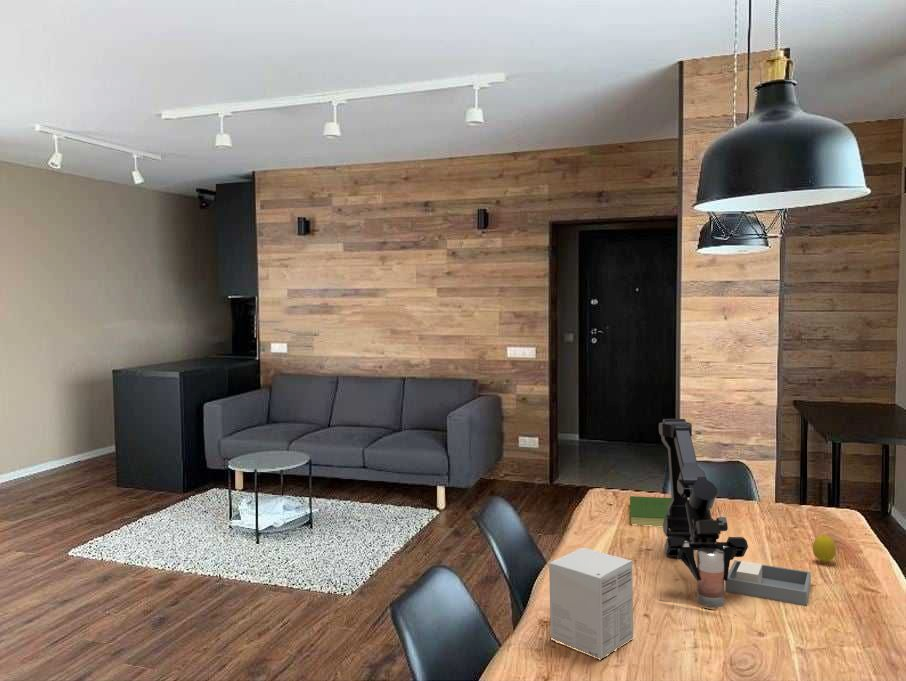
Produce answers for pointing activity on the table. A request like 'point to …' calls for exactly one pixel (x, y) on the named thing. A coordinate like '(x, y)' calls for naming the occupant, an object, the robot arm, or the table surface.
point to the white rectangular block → (749, 572)
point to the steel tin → (710, 577)
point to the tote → (773, 584)
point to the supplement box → (591, 601)
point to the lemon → (824, 548)
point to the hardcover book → (648, 510)
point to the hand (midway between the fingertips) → (712, 580)
